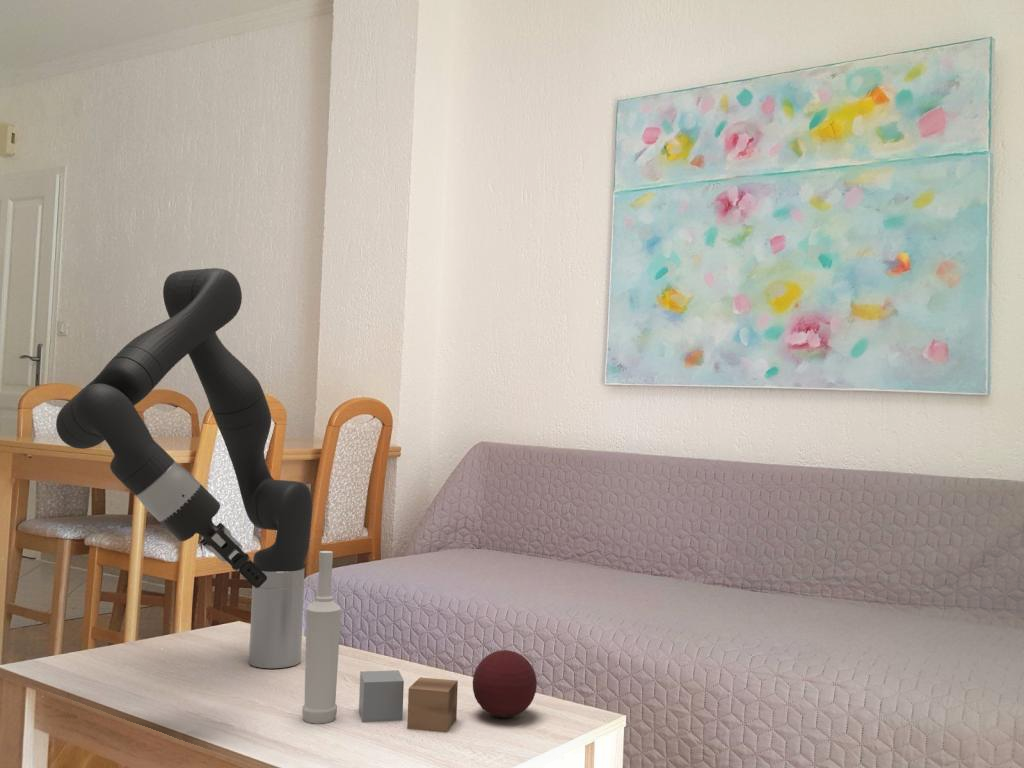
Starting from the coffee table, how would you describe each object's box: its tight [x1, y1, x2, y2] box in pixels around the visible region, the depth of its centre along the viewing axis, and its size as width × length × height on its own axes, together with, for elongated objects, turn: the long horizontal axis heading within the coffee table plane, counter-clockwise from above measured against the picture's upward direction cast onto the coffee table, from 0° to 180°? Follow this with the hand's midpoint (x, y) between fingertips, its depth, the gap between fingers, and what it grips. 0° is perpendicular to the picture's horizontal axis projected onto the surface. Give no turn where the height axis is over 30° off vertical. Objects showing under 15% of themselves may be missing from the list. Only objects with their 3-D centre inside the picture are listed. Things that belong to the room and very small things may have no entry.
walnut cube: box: [406, 677, 459, 734], centre depth 140 cm, size 6×6×6 cm
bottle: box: [302, 550, 342, 725], centre depth 141 cm, size 5×5×25 cm
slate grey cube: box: [358, 669, 405, 723], centre depth 143 cm, size 6×6×6 cm
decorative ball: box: [472, 649, 538, 719], centre depth 144 cm, size 10×10×10 cm
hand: (257, 578), depth 137 cm, fingers open, 8 cm apart
